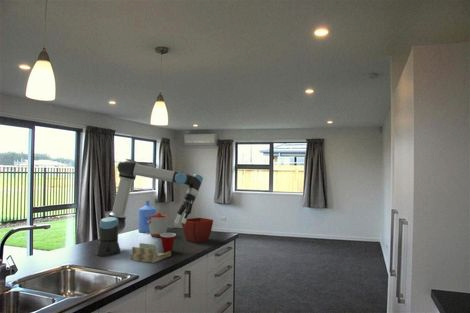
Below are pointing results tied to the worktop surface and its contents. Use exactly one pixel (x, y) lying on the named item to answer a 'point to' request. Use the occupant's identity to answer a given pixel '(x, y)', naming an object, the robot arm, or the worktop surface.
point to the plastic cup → (167, 241)
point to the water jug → (145, 217)
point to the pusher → (150, 246)
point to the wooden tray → (147, 255)
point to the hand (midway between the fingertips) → (179, 223)
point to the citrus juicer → (157, 224)
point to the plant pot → (197, 229)
